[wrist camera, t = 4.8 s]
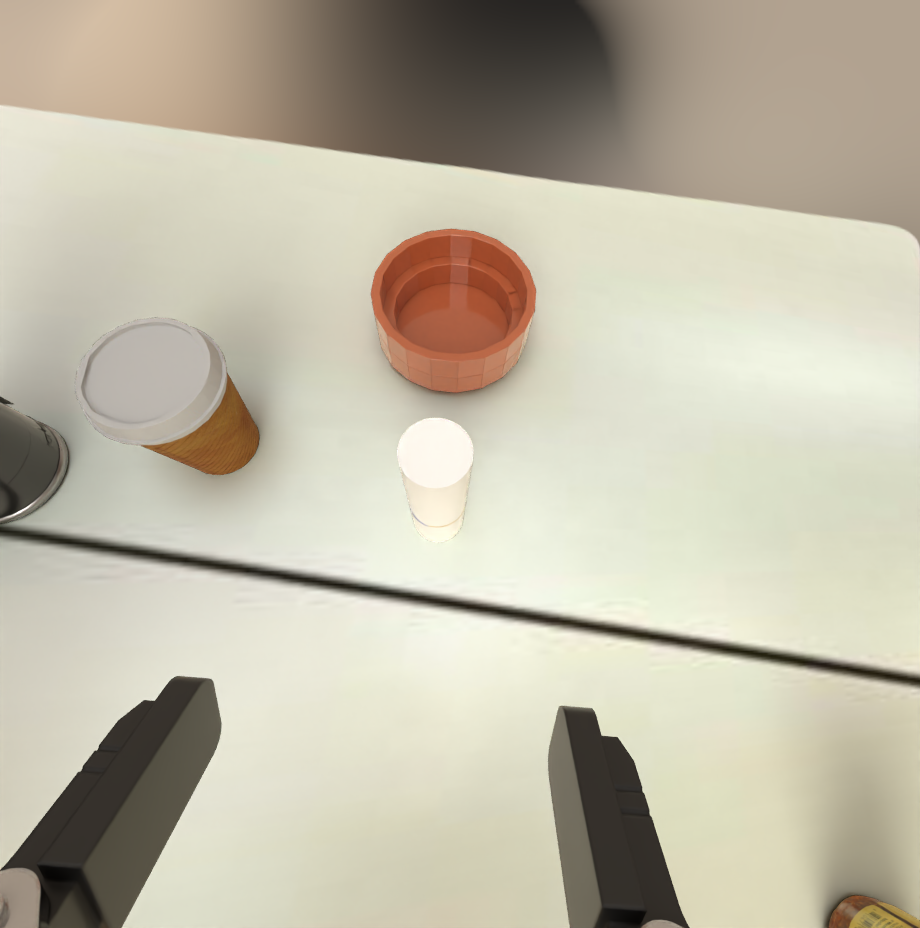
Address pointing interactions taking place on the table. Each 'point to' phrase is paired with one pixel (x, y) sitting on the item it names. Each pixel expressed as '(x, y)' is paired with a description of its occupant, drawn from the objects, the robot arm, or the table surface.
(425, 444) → the tube
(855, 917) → the sauce bottle
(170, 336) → the disposable coffee cup
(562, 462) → the table surface
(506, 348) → the bowl
